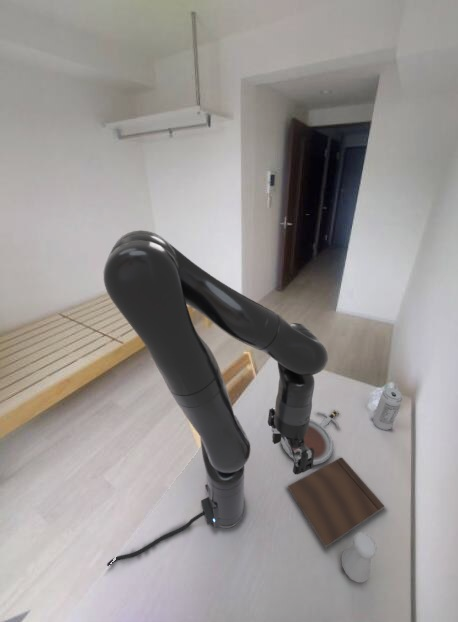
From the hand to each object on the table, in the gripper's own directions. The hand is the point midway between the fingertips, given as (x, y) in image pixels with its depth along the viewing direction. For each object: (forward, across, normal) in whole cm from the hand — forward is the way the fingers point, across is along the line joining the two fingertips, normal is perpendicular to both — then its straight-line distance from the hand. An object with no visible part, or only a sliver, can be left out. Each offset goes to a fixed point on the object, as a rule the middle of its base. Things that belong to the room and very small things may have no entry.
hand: (286, 456), depth 66 cm
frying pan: (+19, -12, +22) cm, 31 cm away
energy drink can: (+19, -4, +46) cm, 50 cm away
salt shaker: (+19, +20, +6) cm, 28 cm away
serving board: (+19, +7, +13) cm, 24 cm away
